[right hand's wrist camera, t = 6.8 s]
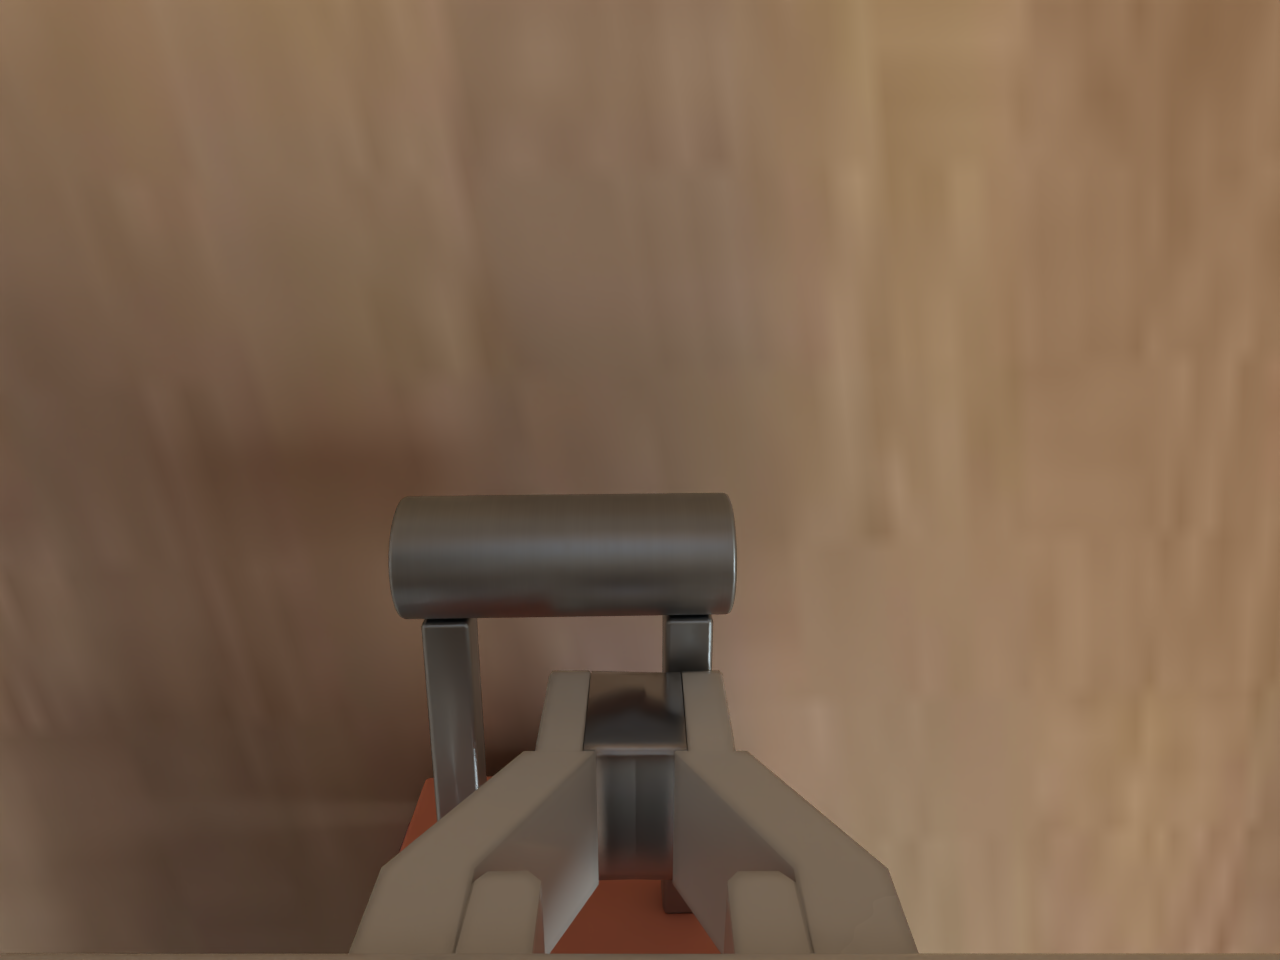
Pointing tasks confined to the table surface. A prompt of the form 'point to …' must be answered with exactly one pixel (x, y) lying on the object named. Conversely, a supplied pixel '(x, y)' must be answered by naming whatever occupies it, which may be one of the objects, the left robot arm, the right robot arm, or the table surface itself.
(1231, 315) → the table surface
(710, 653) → the drawer
